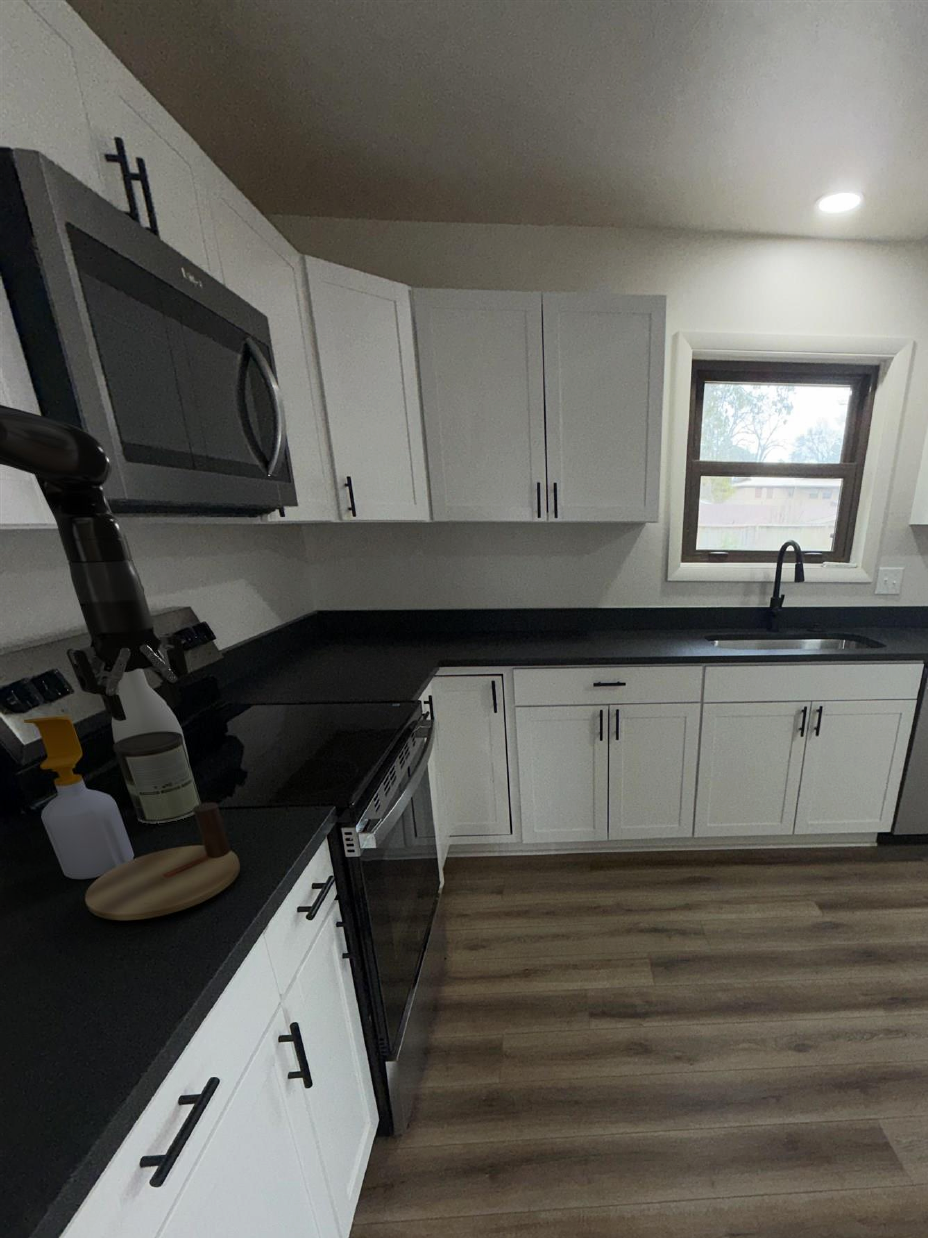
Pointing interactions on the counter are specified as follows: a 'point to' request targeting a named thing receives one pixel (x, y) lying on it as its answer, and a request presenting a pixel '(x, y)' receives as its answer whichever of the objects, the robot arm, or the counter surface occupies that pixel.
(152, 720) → the bottle
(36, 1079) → the counter surface
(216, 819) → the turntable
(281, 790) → the counter surface
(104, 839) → the soap bottle
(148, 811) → the coffee can
